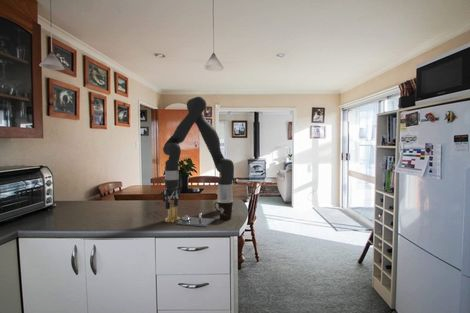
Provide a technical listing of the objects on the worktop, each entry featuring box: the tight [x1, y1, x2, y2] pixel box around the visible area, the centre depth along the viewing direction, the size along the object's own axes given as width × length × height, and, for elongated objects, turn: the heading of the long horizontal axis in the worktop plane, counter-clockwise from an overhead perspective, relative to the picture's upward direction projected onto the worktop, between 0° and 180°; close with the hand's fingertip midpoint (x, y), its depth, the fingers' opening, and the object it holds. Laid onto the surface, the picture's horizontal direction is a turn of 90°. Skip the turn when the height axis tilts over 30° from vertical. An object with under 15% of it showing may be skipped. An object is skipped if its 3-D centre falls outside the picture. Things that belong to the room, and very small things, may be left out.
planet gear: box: [164, 204, 181, 223], centre depth 156 cm, size 8×8×8 cm
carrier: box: [176, 212, 216, 227], centre depth 151 cm, size 12×17×5 cm
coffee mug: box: [213, 200, 234, 221], centre depth 160 cm, size 12×9×10 cm
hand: (171, 207), depth 155 cm, fingers open, 8 cm apart
